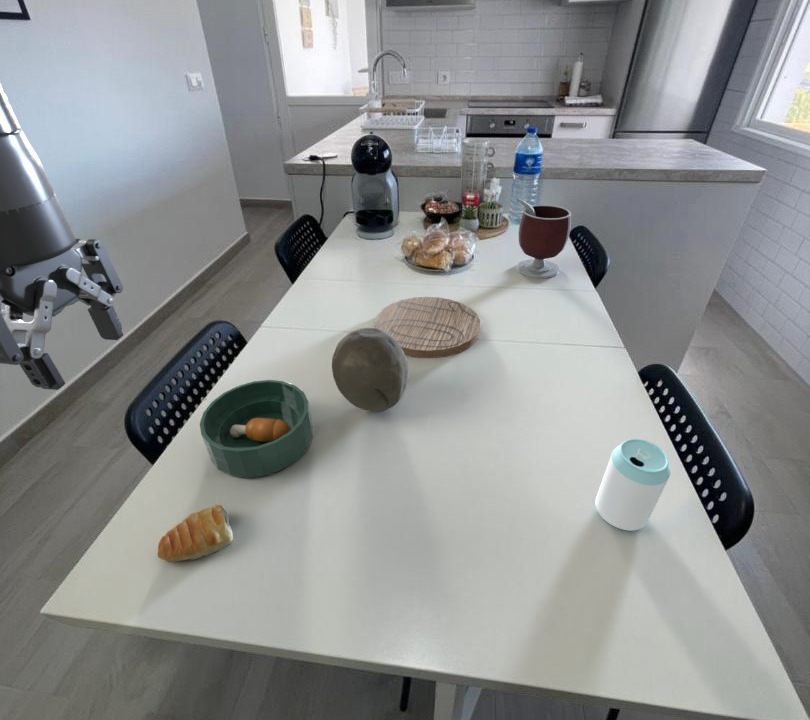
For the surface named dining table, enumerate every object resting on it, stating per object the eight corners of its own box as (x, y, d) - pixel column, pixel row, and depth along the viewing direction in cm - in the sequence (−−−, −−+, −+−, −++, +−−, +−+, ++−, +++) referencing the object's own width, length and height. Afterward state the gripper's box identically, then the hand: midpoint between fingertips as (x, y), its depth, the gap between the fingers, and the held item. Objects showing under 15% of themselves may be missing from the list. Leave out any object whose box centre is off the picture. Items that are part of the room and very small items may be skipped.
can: (650, 538, 61) (680, 480, 54) (595, 526, 62) (617, 469, 56) (642, 497, 66) (669, 440, 59) (592, 487, 68) (612, 430, 61)
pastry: (164, 579, 57) (154, 562, 55) (158, 539, 62) (148, 522, 60) (238, 543, 61) (231, 526, 59) (226, 508, 66) (219, 492, 64)
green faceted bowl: (241, 498, 68) (231, 469, 64) (194, 440, 78) (182, 412, 74) (332, 439, 77) (328, 411, 74) (279, 395, 87) (273, 368, 84)
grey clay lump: (418, 386, 89) (418, 320, 80) (395, 434, 78) (392, 365, 69) (353, 374, 93) (346, 310, 84) (322, 419, 82) (311, 351, 73)
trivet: (392, 298, 120) (392, 292, 119) (486, 309, 114) (487, 302, 113) (360, 349, 100) (359, 341, 99) (471, 365, 94) (471, 357, 93)
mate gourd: (563, 263, 136) (577, 196, 125) (559, 282, 126) (573, 210, 114) (512, 257, 141) (521, 191, 130) (504, 274, 131) (512, 205, 119)
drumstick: (227, 443, 76) (220, 426, 74) (237, 427, 80) (231, 410, 77) (287, 448, 75) (282, 431, 73) (294, 432, 78) (291, 415, 76)
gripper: (28, 175, 42) (99, 323, 51) (-140, 225, 31) (-9, 404, 40) (101, 176, 41) (160, 326, 51) (-45, 228, 30) (66, 410, 39)
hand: (85, 360), depth 45 cm, fingers open, 8 cm apart
